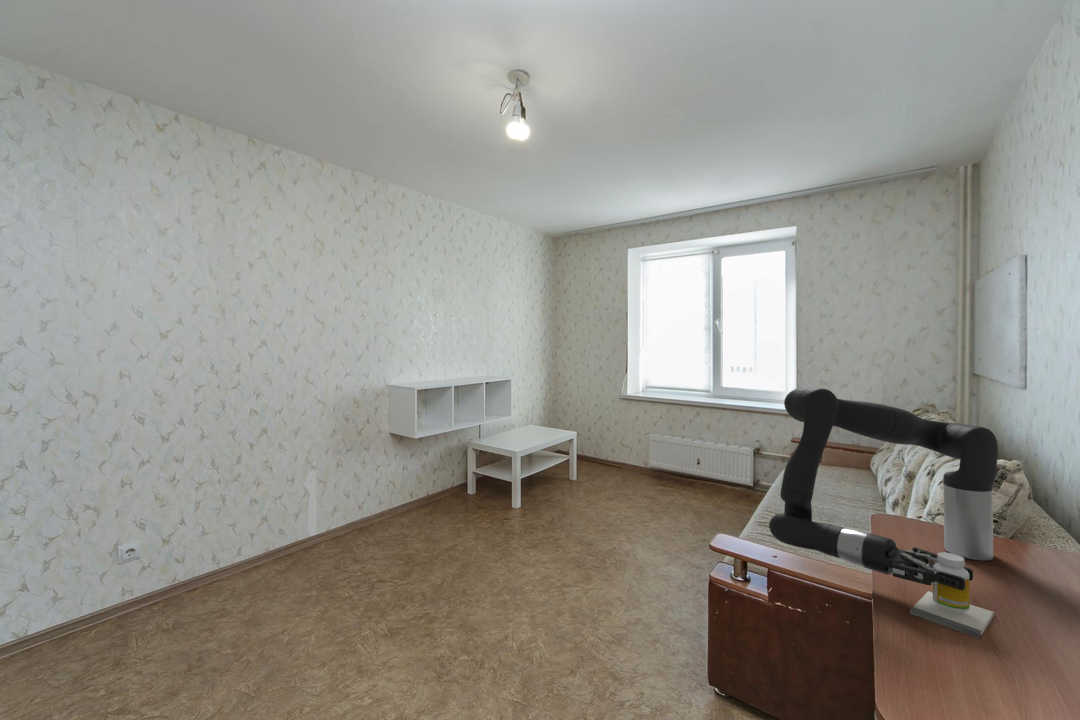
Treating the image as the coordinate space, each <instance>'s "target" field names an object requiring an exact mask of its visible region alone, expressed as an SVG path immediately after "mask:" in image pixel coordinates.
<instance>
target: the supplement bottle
mask: <svg viewBox="0 0 1080 720" xmlns="http://www.w3.org/2000/svg"><path fill="white" fill-rule="evenodd" d="M936 554H937V560H938V562H939V563H936V562H934V563H935V564H934V565H933V569H935V570H938V573H939V571H942V572H945V573H948V574H952V575H955V576H959V577H962V578H964V579H965V589H964V590H959V589H956V588H953V587H950V586H946V585H943V584H940V583H939V582H938V584H933V583H932V593H933V601H934V602H935V603H936V604H938V605H939V606H941V607H943V608H946V609H949V610H952V611H957V612H966V611H968V610H969V608H970V605H971V604H970V581H969V573H968V571H967V570H965V569H964V568H963V567H965V566H966V565H965V564H966V563H965V558H964V557H961V556H958V555H955V554H952V553H950V552H947V551H946V552H945V551H943V552H941V551H940V552H937V553H936Z"/></svg>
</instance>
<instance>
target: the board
mask: <svg viewBox="0 0 1080 720" xmlns="http://www.w3.org/2000/svg"><path fill="white" fill-rule="evenodd" d="M994 614H995V613H994V611H991V610H989V609H985V608H982V607H980V606H976V605H973V604H970V608H969V610H968V611H966V612H957V611H952V610H949V609H946V608H943V607H941V606H939V605H938V604H936V603H935V602H934V601H933V591H932V592H931V591H929V590H928V591H926V593H925V594H924V595H923V596H922V597H921V598H920V599H919V600H918V601H917V602H916V603H915V604H914V606H912V607H911V608H910V609H909V615H911V616H915V617H917V618H921V619H922V620H926V621H928V622H931V623H934V624H937V625H940V626H943V627H945V628H948V629H951V630H953V631H956V630H957V631H956V632H959V631H960V632H959V633H962V634H964V633H966V634H965V635H967V634H968V635H967V636H970V635H971V636H970V637H974V638H976V639H978V638H979V639H981V637H982V635H983V633H984V632H985V630H986V629H987V628H988V626H989V624H990V623H991V621H992V619H993V618H994V617H995V616H994Z"/></svg>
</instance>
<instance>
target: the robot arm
mask: <svg viewBox="0 0 1080 720" xmlns="http://www.w3.org/2000/svg"><path fill="white" fill-rule="evenodd" d="M783 404H784V405H783V406H784V408H785V411H786V412H787V414H788V415H789V416H791V417H792V418H793V419H794V420H796V421H797V422H801V423H803V429H802V435H801V437H800V440H799V442H798V445H797V447H796V448H795V450H794V452H793V453H792V455H791V456H790V458H789V459H788V461H787V463H786V465H785V469H784V472H783V477H782V482H781V487H780V494H779V495H780V499H781V500H782V501H783V502H784V512H782V513H777V514H775V515H774V516H773V517H771V519H770V520H769V526H768V527H769V532H770V533H771V534H772V536H773V537H774V539H776V540H778V542H780V543H783V544H785V545H790V546H793V547H798V548H803V549H807V550H812V551H816V552H820V553H822V554H824V555H827V556H831V557H834V558H838V559H841V560H843V561H845V562H848V563H849V564H853V565H855V566H859V567H862V568H865V569H868V570H871V571H875V572H878V573H880V574H884V575H886V576H887V575H892V576H893V577H894V578H897V579H898V578H899V579H900V580H901V579H902V580H905V581H910V582H914V583H917V584H918V583H919V584H922V585H924V586H931V585H933V584H938V582H939V583H940V584H943V585H946V586H950V587H953V588H956V589H959V590H964V589H965V579H964V578H962V577H959V576H955V575H952V574H948V573H945V572H942V571H939V573H938V570H935V569H933V565H934V564H935V563H939V562H938V560H937V554H938V553H934V552H931V551H927V550H925V549H922V548H918V547H917V546H916V547H914V546H913V547H912V550H911V549H905V550H904V549H900V548H898V547H897V544H896V541H895V540H893V539H892V538H890V537H885V536H881V535H878V534H874V533H870V532H866V531H862V530H859V529H852V528H847V527H843V526H839V525H836V524H831V523H827V522H816V521H813V510H812V509H813V508H812V499H813V496H814V491H815V486H816V485H815V484H816V479H817V475H818V471H819V468H820V467H819V465H820V463H821V459H822V457H823V454H824V451H825V449H826V446H827V443H828V440H829V437H830V435H831V432H832V430H833V428H834V427H836V428H840V429H841V430H845V431H848V432H851V433H854V434H856V435H857V434H858V435H860V436H863V437H867V438H870V439H873V440H877V441H882V442H885V443H891V444H895V445H896V444H897V445H905V446H906V445H907V446H908V445H909V446H917V447H922V448H924V449H927V450H931V451H933V452H936V453H938V454H941V455H944V456H946V457H950V458H954V459H958V460H959V465H958V466H959V467H958V469H957V470H955V471H954V470H953V471H952V470H951V471H947V472H944V473H943V478H942V480H943V481H942V482H943V483H942V484H943V487H942V488H943V541H944V542H943V543H944V545H943V546H944V550H945V551H946V552H947V553H952V554H955V555H958V556H961V557H962V558H964V559H969V560H975V561H985V562H986V561H992V560H993V559H994V524H993V523H994V522H993V521H994V517H993V516H994V514H993V513H994V510H993V505H994V504H993V503H994V502H993V484H994V482H995V480H996V477H997V470H998V455H999V454H998V451H999V448H998V447H999V446H998V440H997V438H996V436H995V434H994V433H993V432H992V431H991V430H990V429H989V428H987V427H983V426H980V425H979V426H978V425H972V424H964V423H957V422H944V421H936V420H929V419H926V418H922V417H920V416H918V415H916V414H914V413H912V412H910V411H908V410H905V409H902V408H899V407H894V406H891V405H888V404H882V403H877V402H876V403H875V402H868V401H861V400H860V401H859V400H849V399H843V398H842V399H841V398H838V397H837V396H836V395H835V394H834V393H833V391H831V390H829V389H827V388H824V387H810V386H804V387H797V388H795V389H792V390H791V391H789V392H788V393H787V395H786V396H785V398H784V402H783ZM791 417H790V418H791ZM963 568H964V569H965V570H967V571H968V573H969V582H970V581H972V580H974V570H973V569H972V568H970V567H967V566H966V567H965V566H964V567H963Z"/></svg>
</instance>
